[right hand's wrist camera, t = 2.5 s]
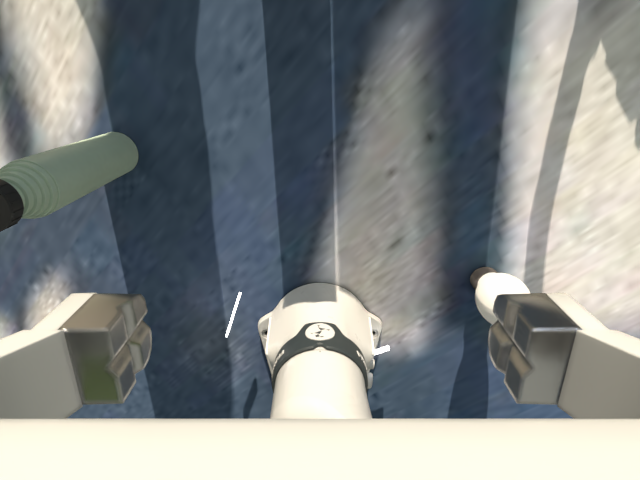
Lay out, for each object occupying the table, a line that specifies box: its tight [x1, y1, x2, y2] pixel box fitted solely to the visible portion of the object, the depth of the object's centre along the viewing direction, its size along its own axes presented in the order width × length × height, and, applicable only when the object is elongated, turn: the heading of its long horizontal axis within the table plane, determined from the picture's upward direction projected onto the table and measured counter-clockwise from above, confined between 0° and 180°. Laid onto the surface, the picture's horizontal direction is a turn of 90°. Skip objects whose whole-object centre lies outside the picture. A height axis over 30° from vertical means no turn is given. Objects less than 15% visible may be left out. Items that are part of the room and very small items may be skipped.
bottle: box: [0, 132, 138, 219], centre depth 45 cm, size 5×5×24 cm
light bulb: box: [470, 267, 530, 324], centre depth 58 cm, size 7×7×11 cm
